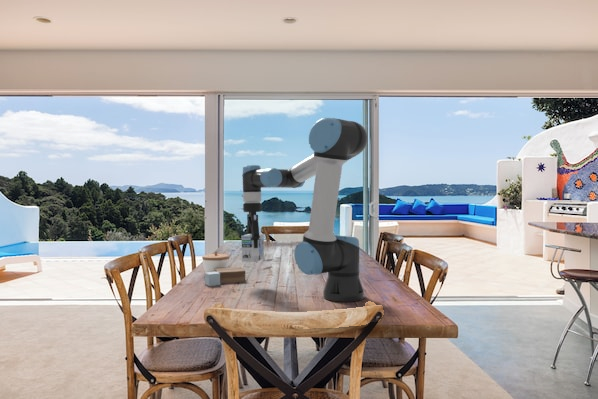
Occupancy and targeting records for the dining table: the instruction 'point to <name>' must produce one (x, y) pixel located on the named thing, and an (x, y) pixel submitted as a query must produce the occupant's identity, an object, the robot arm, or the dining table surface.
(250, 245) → the light bulb box
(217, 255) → the lidded bowl
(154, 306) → the dining table surface
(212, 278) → the slate cube
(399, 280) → the dining table surface
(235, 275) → the walnut block
